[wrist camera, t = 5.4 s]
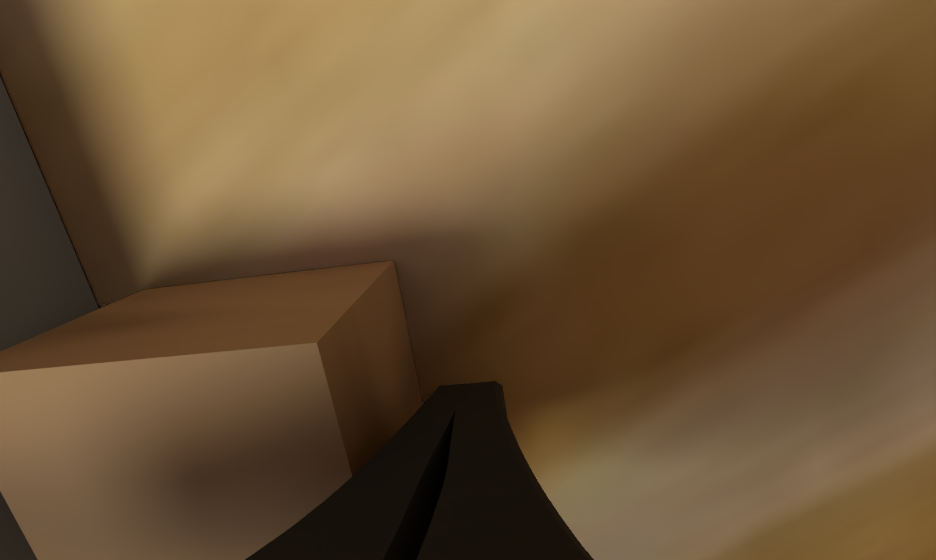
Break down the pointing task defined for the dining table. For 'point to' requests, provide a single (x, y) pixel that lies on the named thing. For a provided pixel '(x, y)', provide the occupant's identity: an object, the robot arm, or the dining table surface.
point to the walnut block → (202, 413)
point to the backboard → (31, 271)
